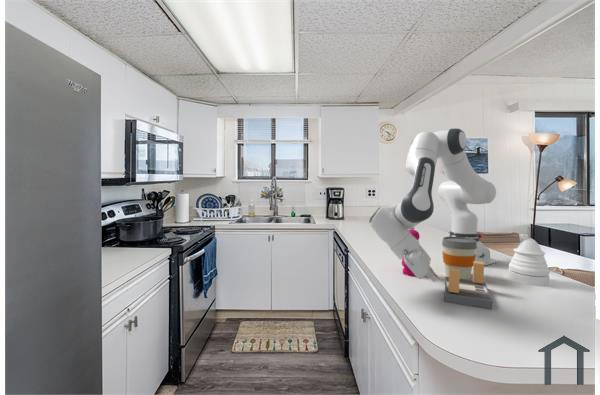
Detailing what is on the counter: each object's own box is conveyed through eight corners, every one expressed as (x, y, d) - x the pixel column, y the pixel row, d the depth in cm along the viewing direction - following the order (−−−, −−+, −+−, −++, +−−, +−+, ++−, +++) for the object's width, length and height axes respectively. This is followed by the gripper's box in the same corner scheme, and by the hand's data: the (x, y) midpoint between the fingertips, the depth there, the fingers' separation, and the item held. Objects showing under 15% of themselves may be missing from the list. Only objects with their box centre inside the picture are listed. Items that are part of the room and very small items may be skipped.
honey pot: (510, 282, 118) (512, 236, 117) (506, 273, 129) (508, 231, 128) (552, 288, 112) (555, 239, 111) (544, 278, 123) (546, 233, 122)
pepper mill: (417, 271, 130) (418, 224, 129) (422, 276, 123) (423, 227, 122) (399, 270, 131) (401, 224, 130) (403, 276, 124) (405, 227, 123)
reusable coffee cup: (480, 281, 118) (482, 243, 117) (445, 279, 120) (446, 241, 119) (469, 272, 130) (470, 237, 129) (437, 270, 133) (438, 235, 132)
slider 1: (448, 291, 99) (449, 270, 99) (448, 288, 102) (449, 268, 101) (458, 293, 98) (459, 271, 97) (458, 290, 100) (459, 269, 100)
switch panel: (444, 301, 98) (445, 293, 98) (444, 282, 116) (445, 275, 116) (492, 309, 93) (492, 300, 92) (484, 288, 111) (484, 281, 110)
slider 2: (473, 282, 108) (474, 263, 108) (472, 280, 111) (473, 260, 110) (483, 283, 107) (484, 264, 106) (482, 281, 110) (483, 262, 109)
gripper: (410, 247, 95) (443, 283, 91) (416, 236, 113) (444, 266, 110) (394, 260, 97) (427, 295, 93) (403, 247, 116) (430, 276, 112)
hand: (436, 279), depth 102 cm, fingers closed
